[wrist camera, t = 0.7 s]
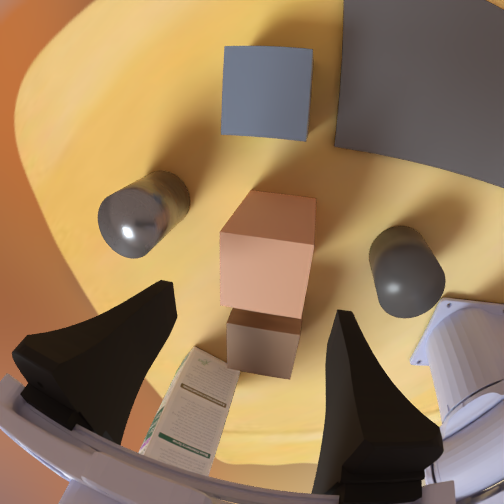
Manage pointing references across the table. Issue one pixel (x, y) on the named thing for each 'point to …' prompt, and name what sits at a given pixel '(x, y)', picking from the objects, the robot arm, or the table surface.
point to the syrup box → (192, 414)
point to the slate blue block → (267, 91)
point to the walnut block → (262, 343)
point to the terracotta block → (268, 253)
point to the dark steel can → (143, 213)
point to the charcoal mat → (425, 83)
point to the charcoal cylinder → (405, 272)
